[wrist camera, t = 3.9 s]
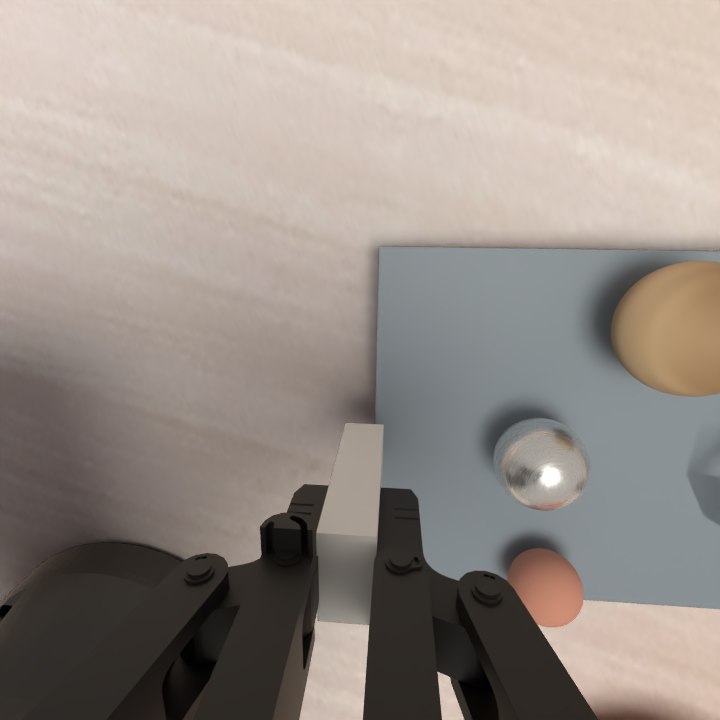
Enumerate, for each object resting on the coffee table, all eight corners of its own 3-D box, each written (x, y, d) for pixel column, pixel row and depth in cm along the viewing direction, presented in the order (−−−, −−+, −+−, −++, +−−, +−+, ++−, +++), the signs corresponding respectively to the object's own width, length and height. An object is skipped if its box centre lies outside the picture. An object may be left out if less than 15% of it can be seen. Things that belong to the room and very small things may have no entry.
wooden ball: (580, 371, 17) (643, 415, 13) (598, 256, 16) (674, 263, 12) (697, 375, 17) (801, 421, 13) (725, 259, 16) (851, 266, 11)
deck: (373, 549, 23) (371, 585, 21) (380, 245, 19) (379, 246, 16) (866, 580, 22) (925, 622, 19) (999, 255, 17) (1098, 257, 15)
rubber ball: (497, 585, 20) (514, 642, 17) (503, 531, 20) (523, 582, 17) (561, 589, 20) (590, 648, 17) (571, 535, 19) (602, 587, 16)
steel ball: (481, 476, 19) (500, 528, 15) (488, 402, 18) (511, 440, 15) (562, 481, 19) (600, 534, 15) (575, 405, 18) (618, 445, 14)
